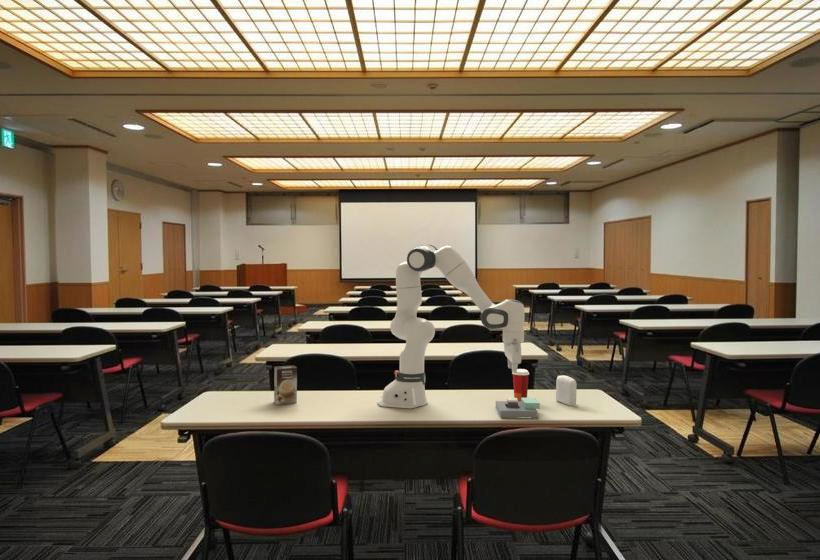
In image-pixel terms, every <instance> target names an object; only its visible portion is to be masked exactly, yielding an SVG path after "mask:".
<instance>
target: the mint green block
mask: <svg viewBox="0 0 820 560" xmlns="http://www.w3.org/2000/svg"><path fill="white" fill-rule="evenodd" d="M521 404H522V405H523V407H524V408H525V409H536V410H540V402H539V401H538V399H537V397H527V398H521Z"/></svg>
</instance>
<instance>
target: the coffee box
mask: <svg viewBox="0 0 820 560" xmlns="http://www.w3.org/2000/svg"><path fill="white" fill-rule="evenodd" d="M273 376H274V377H273V378H274V379H273V381H274V382H273V383H274V386H273V387H274V391H273V402H274V403H275V404H276V406H277V405H278V406H279V405H287V404H288V405H289V404H297V402H298V401H297V399H298V398H297V397H298V396H297V395H298V394H297V393H298V389H297V388H298V367H297V366H296V365H281V366H280V365H278V366H274V375H273Z"/></svg>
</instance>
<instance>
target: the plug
mask: <svg viewBox="0 0 820 560" xmlns="http://www.w3.org/2000/svg"><path fill="white" fill-rule="evenodd" d="M506 398H507V400H506V401H507V408H518V400H517V398H514V397H506Z"/></svg>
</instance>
